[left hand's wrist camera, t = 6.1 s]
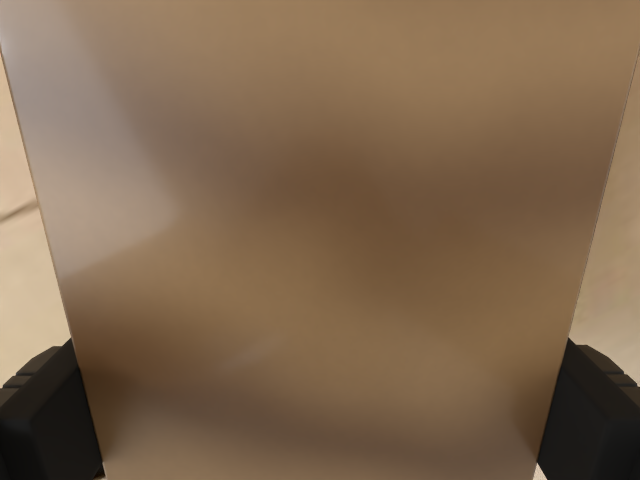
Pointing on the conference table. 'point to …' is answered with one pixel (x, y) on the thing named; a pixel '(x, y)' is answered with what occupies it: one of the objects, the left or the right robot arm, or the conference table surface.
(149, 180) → the cabinet
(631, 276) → the conference table surface
